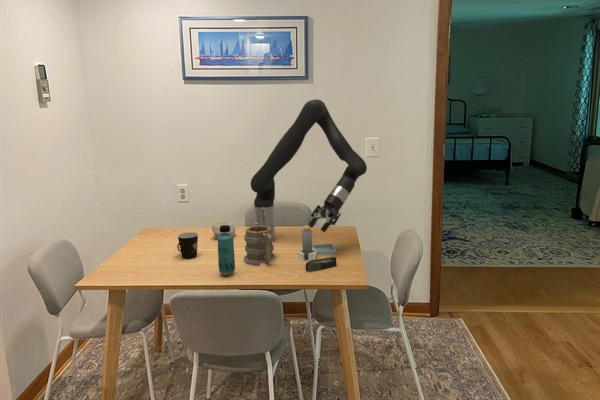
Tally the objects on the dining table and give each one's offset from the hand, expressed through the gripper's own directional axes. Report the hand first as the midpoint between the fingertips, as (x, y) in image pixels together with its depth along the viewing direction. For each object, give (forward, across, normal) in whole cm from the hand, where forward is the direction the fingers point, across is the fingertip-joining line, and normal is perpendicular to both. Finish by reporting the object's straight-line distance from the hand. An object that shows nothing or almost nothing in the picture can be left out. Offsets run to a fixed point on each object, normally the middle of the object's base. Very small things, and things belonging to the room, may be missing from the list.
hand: (316, 228), depth 198 cm
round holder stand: (+12, 0, +6) cm, 14 cm away
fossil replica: (+21, -52, -3) cm, 57 cm away
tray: (+5, -3, +13) cm, 14 cm away
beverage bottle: (+37, -7, -18) cm, 42 cm away
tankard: (+24, -10, -6) cm, 27 cm away
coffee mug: (+40, -36, -22) cm, 59 cm away
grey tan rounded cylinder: (+12, 0, +5) cm, 13 cm away
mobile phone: (+15, +13, +4) cm, 20 cm away
